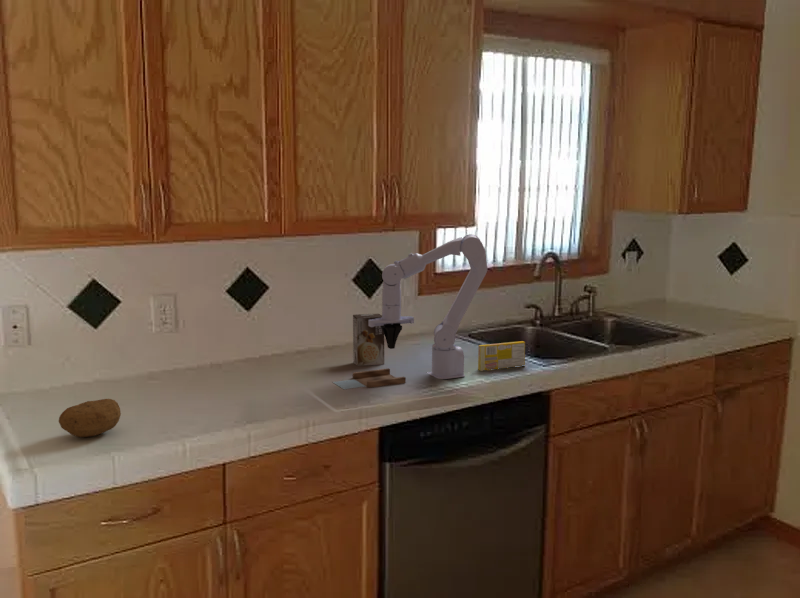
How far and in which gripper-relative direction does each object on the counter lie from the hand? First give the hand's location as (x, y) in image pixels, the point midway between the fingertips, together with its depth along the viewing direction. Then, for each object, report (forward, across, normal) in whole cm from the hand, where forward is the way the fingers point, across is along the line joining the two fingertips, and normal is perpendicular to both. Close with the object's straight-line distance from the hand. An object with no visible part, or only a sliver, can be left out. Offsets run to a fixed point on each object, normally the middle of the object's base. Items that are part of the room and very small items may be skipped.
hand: (391, 348), depth 238 cm
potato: (+9, +88, +18) cm, 90 cm away
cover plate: (+9, +17, +6) cm, 20 cm away
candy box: (+9, -36, +8) cm, 38 cm away
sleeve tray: (+8, +7, +6) cm, 12 cm away
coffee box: (+9, +1, -14) cm, 16 cm away
